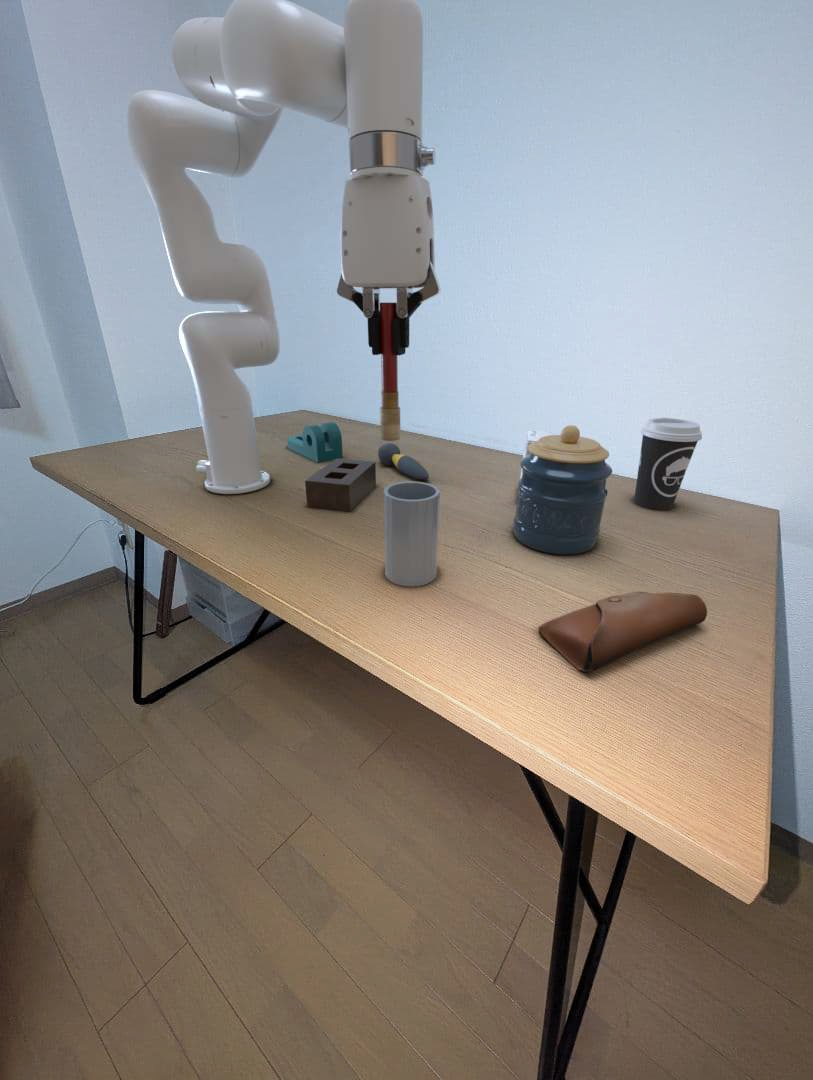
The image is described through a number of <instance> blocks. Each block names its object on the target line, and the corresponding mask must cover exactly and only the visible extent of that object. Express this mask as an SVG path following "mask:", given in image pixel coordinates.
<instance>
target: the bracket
mask: <svg viewBox="0 0 813 1080" xmlns="http://www.w3.org/2000/svg"><path fill="white" fill-rule="evenodd" d="M301 433H302V434H298V435H297V434H296V435H292V436H288V437H286V442H287V448H288V450H290V451H293V452H295V453H297V454H299V455H301V456H303V457H305V458H308V459H309V460H312V461H314V462H316V463H319V464H320V463H323V462H324V463H325V462H328V461H333V460H335V459H336V458H340V459H344V455H343V438H342V433H341V430H340V427H339V425H338V424H337V423H336V422H334V421H329V422H324V423H321V424H320V426H319V425H318V424H309V425H305V426H304V427H303V429H302V432H301Z"/></svg>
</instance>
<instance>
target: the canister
mask: <svg viewBox="0 0 813 1080" xmlns="http://www.w3.org/2000/svg"><path fill="white" fill-rule="evenodd" d="M528 450H529V452H530V454H529V455H528V456H526V457H524V458H523V457H522V459H521V460H520V462H519V464H520V467H521V469H523V475H522V478H521V479H520V478H519V480H518V482H517V486H518V487H517V488H518V490H517V498H516V507H515V514H514V517H513V522H512V523H513V524H512V525H513V534H514V537H515V538H516V540H518V541H519V542H520V543H521V544H523V545H525V547H528V548H530V549H532V550H536V551H539V552H542V553H546V554H547V553H548V554H553V555H578V554H582V553H585V552H588V551H590V550H592V549H593V548H594V547H595V545H596V544H597V543H596V542H597V541H598V539H599V536H600V533H601V532H600V531H601V527H600V525H601V521H602V517H603V512H604V507H605V502H606V497H607V496H608V493H609V492H608V489H607V487H606V486H607V479H608V478H609V477H610V476H611V475H612V474H613V468H612V467H611V465H610V464H608V463H607V462H606V460H607V459H608V458H609V457H610V453H609V451H608V449H606V448H605V447H603V446H602V445H601V443H600V442H599V441H597V440H594V439H592V438H589V437H584V436H581V431H580V429H579V428H578V427H577V426H576V425H572V424H570V425H566V426H564V427H563V428H562V430H561V432H560V434H553V435H550V436H544V437H542V438H540V439H539V440H538V441H536V442H533V443H531V444H530V445H529V446H528Z"/></svg>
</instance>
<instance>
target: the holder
mask: <svg viewBox="0 0 813 1080" xmlns="http://www.w3.org/2000/svg"><path fill="white" fill-rule="evenodd" d="M376 470H377V467H376V461H374V460H362V459H361V460H360V459H350V458H336V459H334V460H331V461H330V462H329V463H327V464H326V465H325V466H323V467H321V468H320V469H319V470H317V471H316V472H314V474H312V475H311V476H309V477H308V478H307V479H305V480H304V486H305V496H306V506H307V507H308V508H309V507H310V508H315V509H316V508H317V509H324V510H325V509H326V510H333V511H334V510H335V511H341V512H351V511H353V509H354V508H356V507H357V506H358V505H359V503H360V502H362V501H363V499H365V498H366V496H367V495H368V494H369V493H370V492H371V491H372V490H373V489H374V488H375V487H376V486H377V471H376Z"/></svg>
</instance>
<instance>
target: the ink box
mask: <svg viewBox="0 0 813 1080" xmlns="http://www.w3.org/2000/svg"><path fill="white" fill-rule="evenodd" d="M550 435H554V434H553V432H547V431H541V430H527V431H526V437H525V443H524V449H523V456H522V459H523V458H524V457H526V456H528V455H529V454H530V452H529V450H528V446H529V445H530V444H531V443H533V442H536V441H538V440H539V439H540V438H542V437H544V436H550ZM522 475H523V469H522V468H521V469H520V476H519V480H520V479H521V478H522Z"/></svg>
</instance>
